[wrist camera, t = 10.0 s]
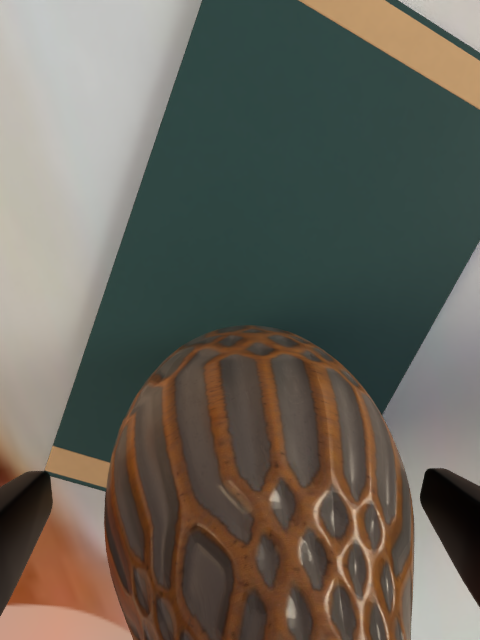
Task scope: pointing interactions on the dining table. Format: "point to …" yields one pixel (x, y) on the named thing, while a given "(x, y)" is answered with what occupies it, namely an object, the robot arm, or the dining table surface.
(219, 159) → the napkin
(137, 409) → the vase
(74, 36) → the dining table surface
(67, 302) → the dining table surface
